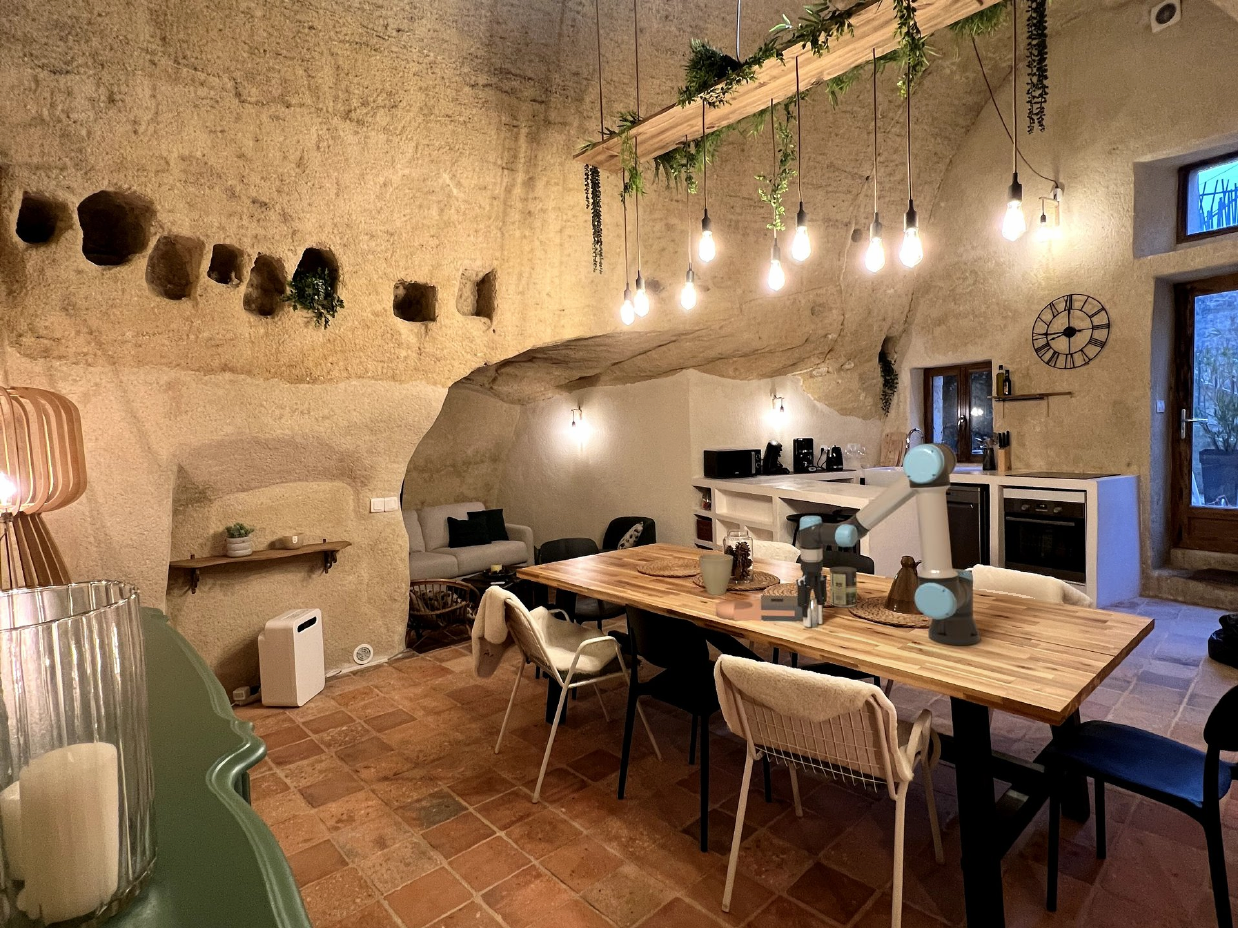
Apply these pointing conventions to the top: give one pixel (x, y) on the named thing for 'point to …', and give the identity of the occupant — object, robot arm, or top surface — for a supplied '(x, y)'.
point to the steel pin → (813, 611)
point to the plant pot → (716, 572)
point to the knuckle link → (746, 610)
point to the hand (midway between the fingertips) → (812, 624)
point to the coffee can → (843, 586)
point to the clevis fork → (781, 607)
